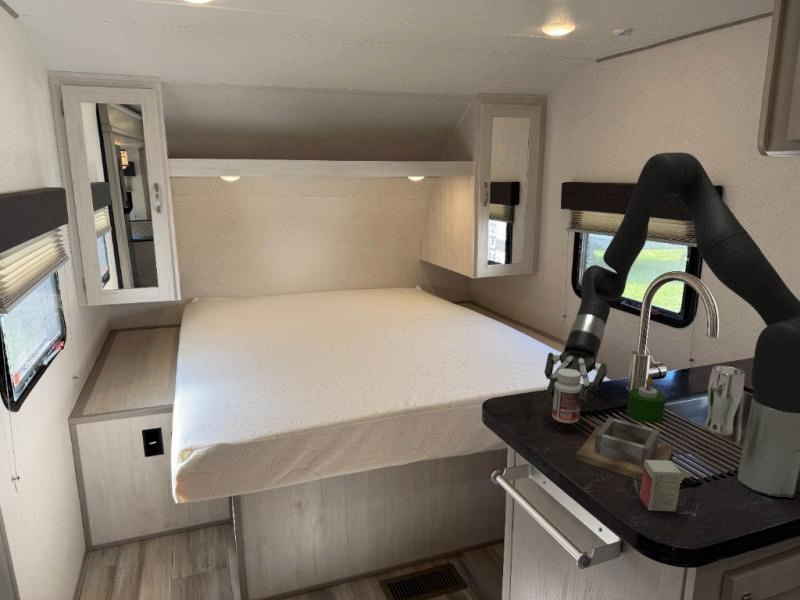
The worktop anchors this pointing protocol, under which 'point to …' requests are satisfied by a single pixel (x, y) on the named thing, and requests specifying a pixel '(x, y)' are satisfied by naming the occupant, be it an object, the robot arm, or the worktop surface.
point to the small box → (660, 485)
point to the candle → (646, 403)
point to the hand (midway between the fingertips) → (565, 399)
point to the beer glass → (723, 399)
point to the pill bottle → (567, 396)
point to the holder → (623, 448)
